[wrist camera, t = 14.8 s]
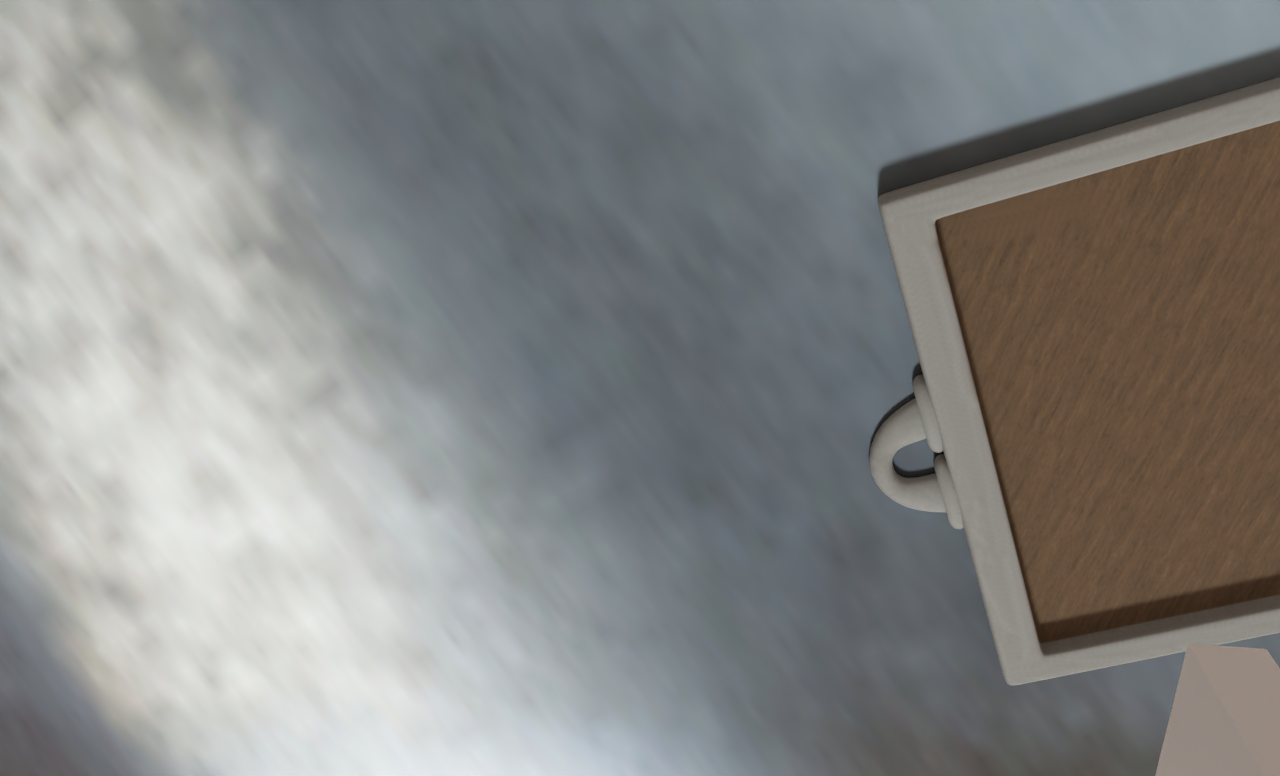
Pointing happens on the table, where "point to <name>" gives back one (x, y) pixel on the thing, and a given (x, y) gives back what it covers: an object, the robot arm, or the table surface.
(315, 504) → the table surface
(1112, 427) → the grey rectangular frame
